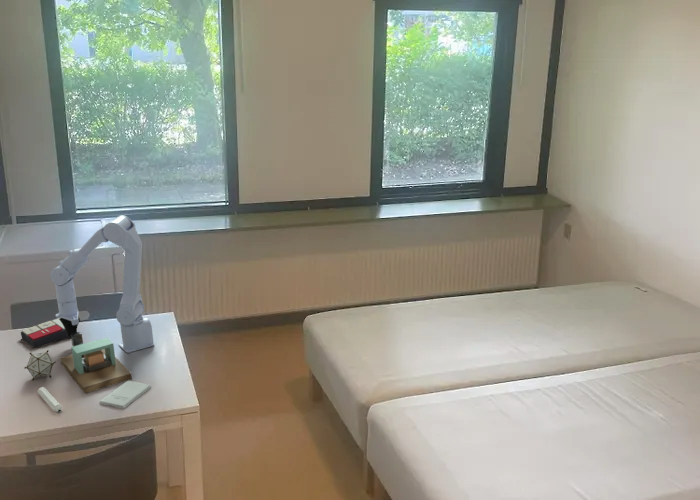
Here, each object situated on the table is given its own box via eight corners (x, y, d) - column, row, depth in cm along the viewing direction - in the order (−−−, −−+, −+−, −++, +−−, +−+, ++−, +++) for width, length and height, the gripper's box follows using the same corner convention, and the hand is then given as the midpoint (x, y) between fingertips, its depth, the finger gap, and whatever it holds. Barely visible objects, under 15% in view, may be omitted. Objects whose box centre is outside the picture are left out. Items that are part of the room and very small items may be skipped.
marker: (61, 418, 186) (41, 395, 197) (67, 412, 187) (47, 390, 198) (55, 413, 184) (35, 390, 196) (61, 407, 185) (41, 385, 197)
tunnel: (109, 357, 214) (107, 337, 212) (115, 363, 210) (113, 343, 208) (74, 367, 208) (71, 347, 206) (79, 374, 204) (76, 353, 201)
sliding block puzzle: (19, 329, 231) (62, 315, 241) (22, 341, 233) (64, 325, 243) (32, 339, 224) (75, 323, 234) (34, 351, 226) (78, 335, 235)
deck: (105, 351, 223) (104, 345, 222) (131, 378, 205) (131, 373, 204) (61, 363, 215) (60, 357, 214) (84, 393, 197) (83, 387, 196)
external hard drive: (150, 389, 200) (123, 410, 189) (127, 384, 203) (99, 405, 191) (150, 384, 199) (123, 405, 188) (127, 380, 202) (99, 400, 191)
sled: (88, 340, 225) (86, 329, 223) (110, 365, 208) (109, 353, 207) (65, 347, 220) (63, 335, 219) (86, 372, 204) (85, 360, 203)
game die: (46, 389, 206) (40, 375, 198) (21, 378, 207) (15, 364, 199) (64, 365, 212) (59, 351, 204) (40, 355, 212) (34, 339, 204)
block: (100, 361, 212) (98, 348, 210) (104, 366, 208) (103, 353, 207) (85, 365, 209) (83, 352, 208) (90, 370, 206) (88, 357, 204)
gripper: (47, 296, 225) (53, 333, 229) (60, 309, 214) (66, 348, 218) (69, 291, 229) (75, 328, 233) (83, 304, 218) (88, 342, 222)
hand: (72, 337), depth 226 cm, fingers closed
